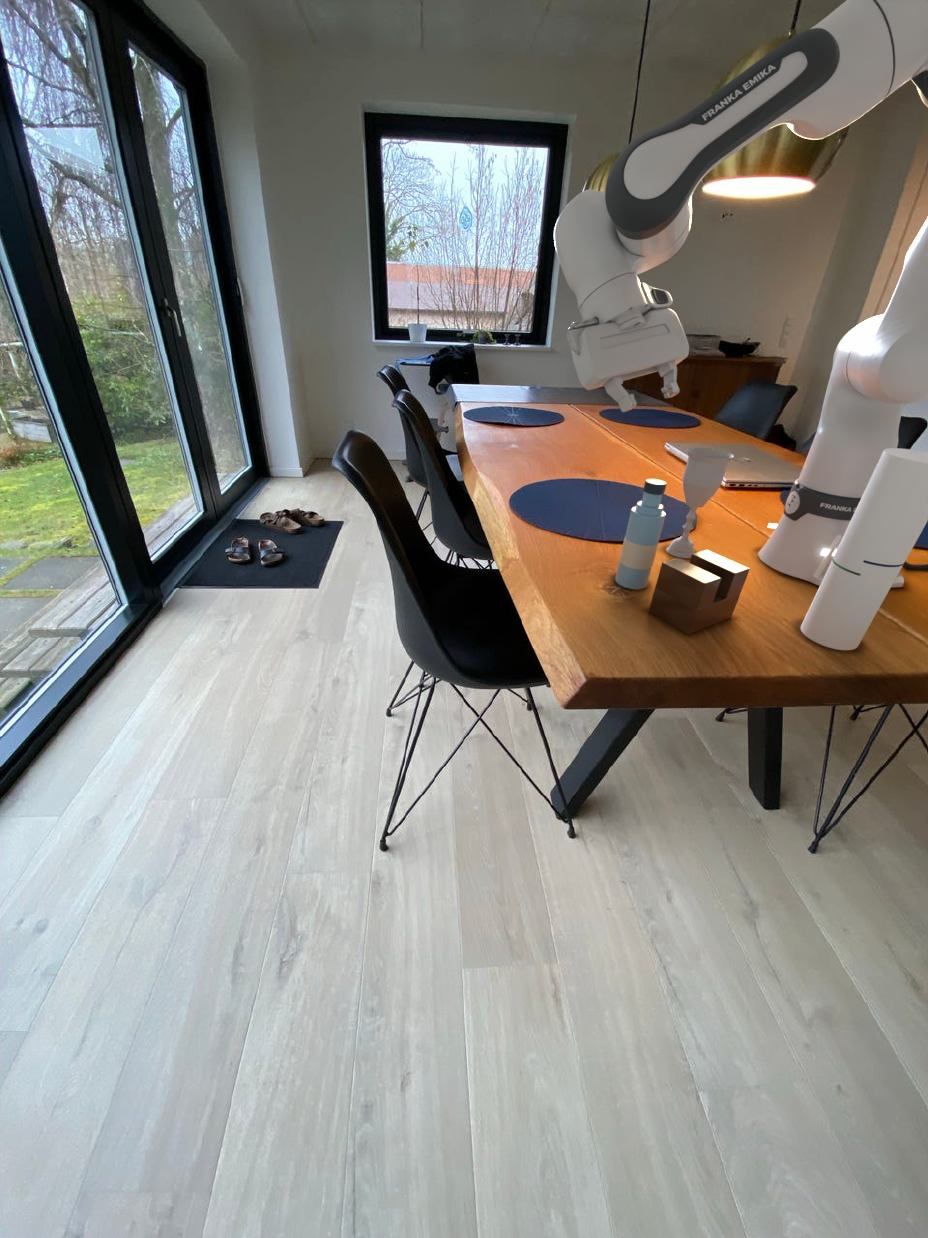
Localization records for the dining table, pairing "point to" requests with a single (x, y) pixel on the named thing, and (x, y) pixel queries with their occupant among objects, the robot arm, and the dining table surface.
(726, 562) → the block
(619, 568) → the bottle
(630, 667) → the dining table surface
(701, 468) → the chalice
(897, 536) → the cylindrical container
